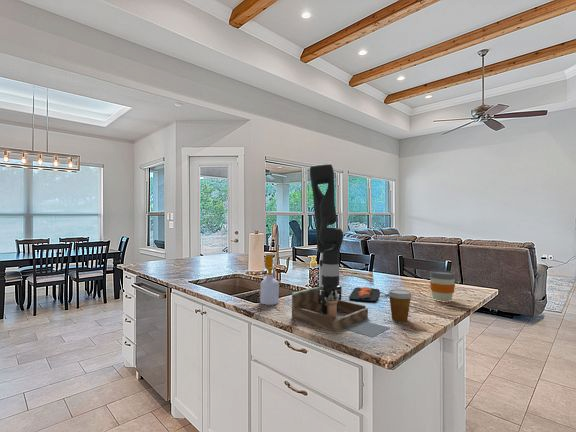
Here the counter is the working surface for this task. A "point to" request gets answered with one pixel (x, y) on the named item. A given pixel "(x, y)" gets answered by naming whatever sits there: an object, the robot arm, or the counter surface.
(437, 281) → the reusable coffee cup
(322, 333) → the counter surface
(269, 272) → the soap bottle
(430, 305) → the counter surface
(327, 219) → the robot arm
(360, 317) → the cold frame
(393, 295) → the disposable coffee cup
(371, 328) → the slate mat
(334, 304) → the terracotta pot
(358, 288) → the sushi plate
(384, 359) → the counter surface
